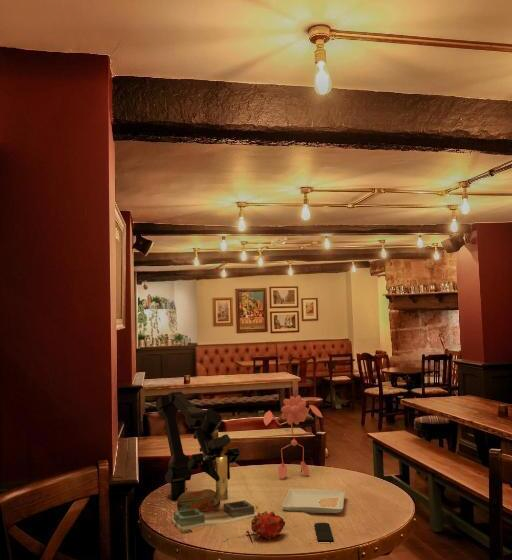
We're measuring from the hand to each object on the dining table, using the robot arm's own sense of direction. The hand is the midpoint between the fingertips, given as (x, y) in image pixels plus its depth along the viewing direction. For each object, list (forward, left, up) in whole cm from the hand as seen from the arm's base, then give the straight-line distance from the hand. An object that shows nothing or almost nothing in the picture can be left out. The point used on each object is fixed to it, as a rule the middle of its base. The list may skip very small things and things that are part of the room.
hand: (223, 479), depth 193 cm
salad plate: (+2, +34, -14) cm, 37 cm away
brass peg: (-1, 0, -7) cm, 7 cm away
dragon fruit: (+21, +6, -14) cm, 25 cm away
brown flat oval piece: (-10, -6, -14) cm, 18 cm away
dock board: (-1, -2, -13) cm, 14 cm away
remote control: (+27, +23, -14) cm, 38 cm away
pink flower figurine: (-33, +46, -14) cm, 59 cm away
